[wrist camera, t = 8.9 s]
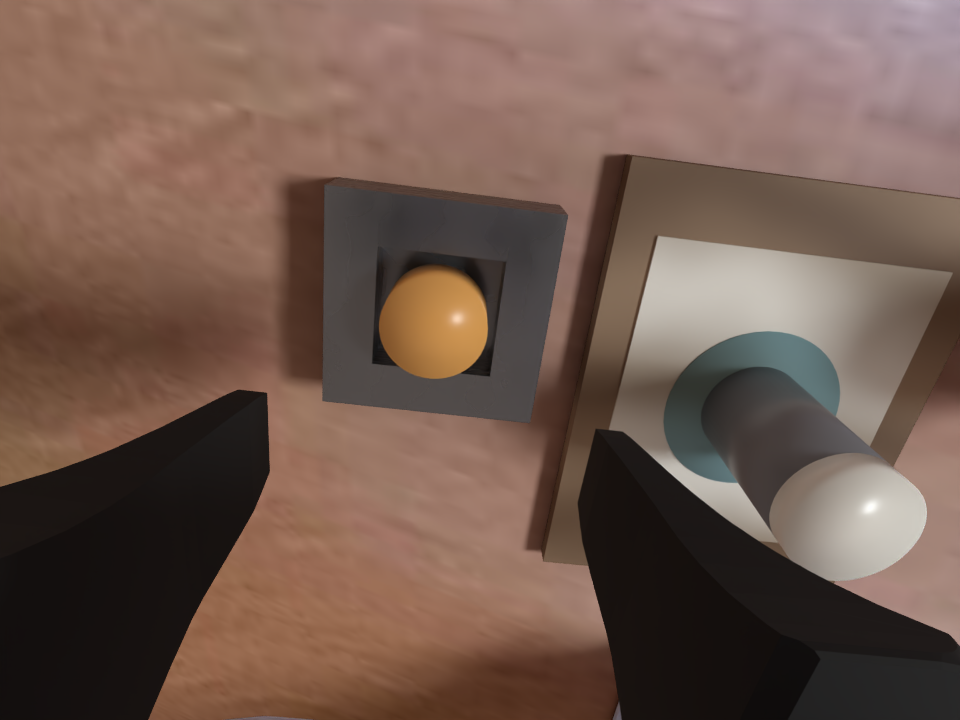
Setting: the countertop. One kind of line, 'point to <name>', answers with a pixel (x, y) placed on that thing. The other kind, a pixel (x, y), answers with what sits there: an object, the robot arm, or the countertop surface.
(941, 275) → the picture frame
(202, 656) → the countertop surface
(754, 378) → the grey domed cylinder
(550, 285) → the button housing
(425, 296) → the button
